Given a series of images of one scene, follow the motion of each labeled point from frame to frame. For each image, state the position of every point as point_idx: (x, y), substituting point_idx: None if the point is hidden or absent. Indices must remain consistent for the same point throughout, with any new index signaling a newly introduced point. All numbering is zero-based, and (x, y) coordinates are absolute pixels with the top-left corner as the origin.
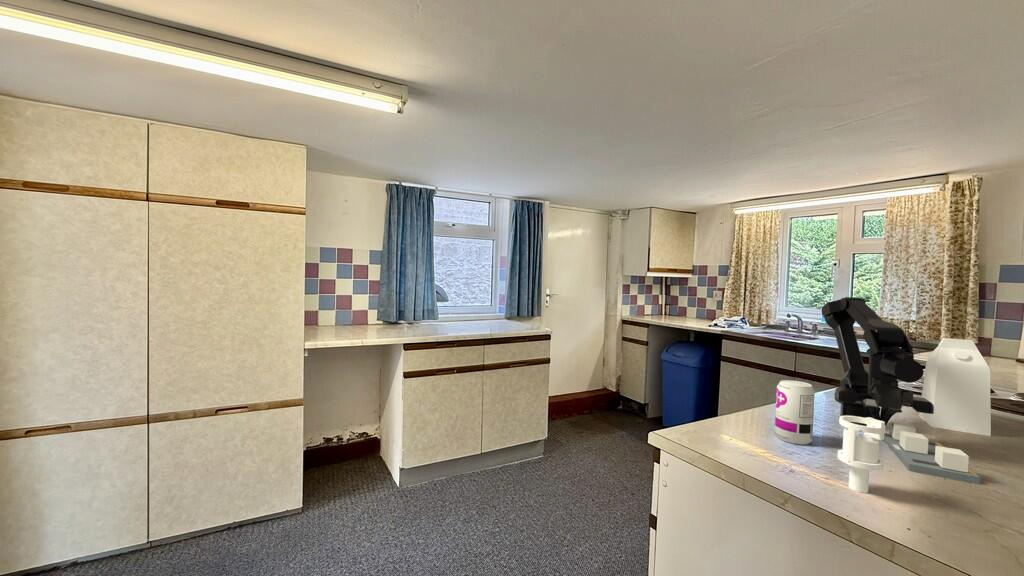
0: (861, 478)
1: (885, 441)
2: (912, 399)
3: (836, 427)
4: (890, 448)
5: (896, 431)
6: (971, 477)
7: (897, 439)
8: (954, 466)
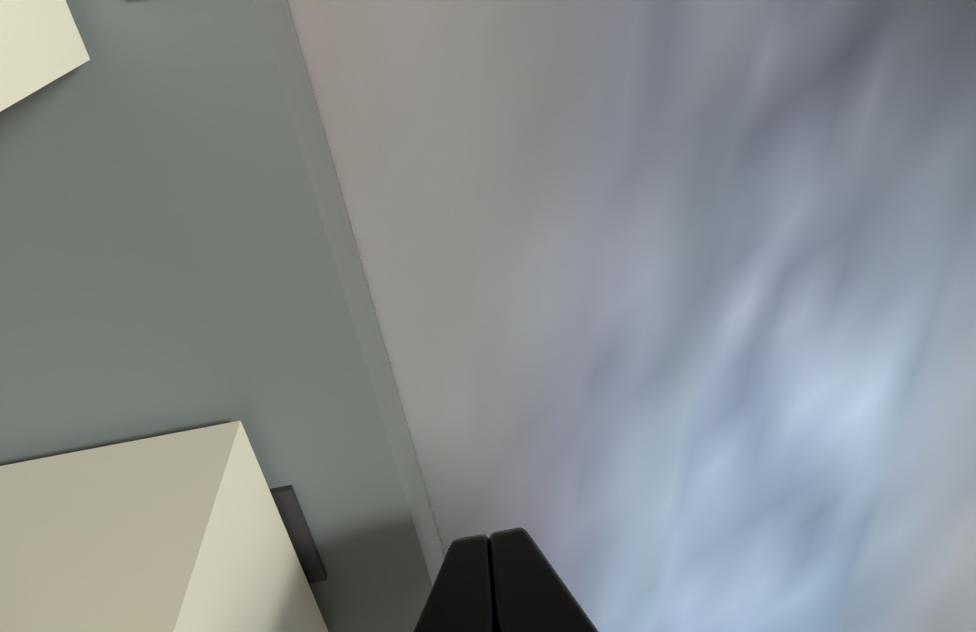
0: None
1: (392, 390)
2: None
3: (973, 609)
4: (300, 53)
5: (161, 571)
6: None
7: (187, 433)
8: None
